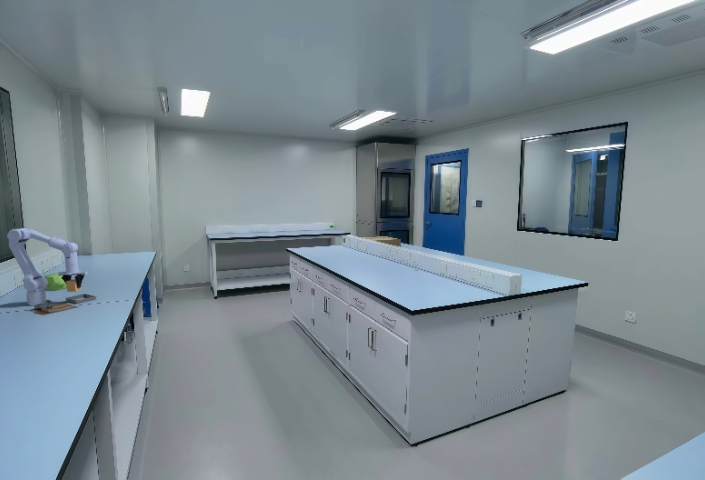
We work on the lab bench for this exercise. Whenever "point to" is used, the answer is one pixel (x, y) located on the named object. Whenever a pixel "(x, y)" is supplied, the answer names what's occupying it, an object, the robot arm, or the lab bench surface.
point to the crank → (44, 306)
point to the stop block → (72, 286)
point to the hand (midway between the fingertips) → (74, 287)
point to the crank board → (54, 309)
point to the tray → (86, 296)
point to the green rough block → (54, 282)
